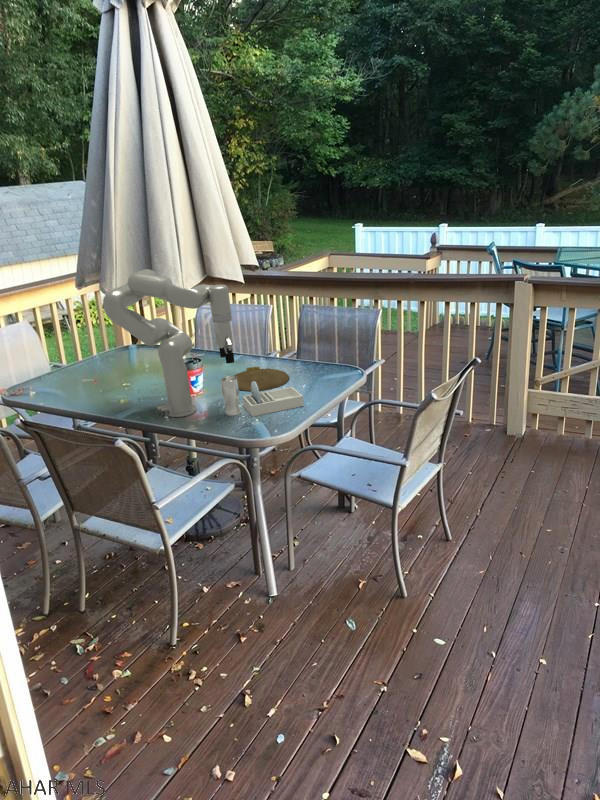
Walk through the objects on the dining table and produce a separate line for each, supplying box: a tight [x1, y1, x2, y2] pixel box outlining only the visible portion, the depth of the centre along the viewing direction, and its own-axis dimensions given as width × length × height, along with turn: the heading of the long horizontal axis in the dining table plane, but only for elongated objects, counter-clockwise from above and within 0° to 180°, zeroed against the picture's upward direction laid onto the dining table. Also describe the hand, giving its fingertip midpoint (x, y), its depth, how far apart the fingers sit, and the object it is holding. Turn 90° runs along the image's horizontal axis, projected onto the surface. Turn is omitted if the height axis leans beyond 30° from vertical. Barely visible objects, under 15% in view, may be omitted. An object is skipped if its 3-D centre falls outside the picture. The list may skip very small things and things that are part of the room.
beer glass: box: [220, 375, 241, 417], centre depth 251 cm, size 7×7×15 cm
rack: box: [242, 381, 305, 417], centre depth 256 cm, size 22×13×12 cm, turn 110°
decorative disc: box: [233, 366, 290, 392], centre depth 291 cm, size 29×3×30 cm
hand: (227, 359), depth 246 cm, fingers open, 9 cm apart
